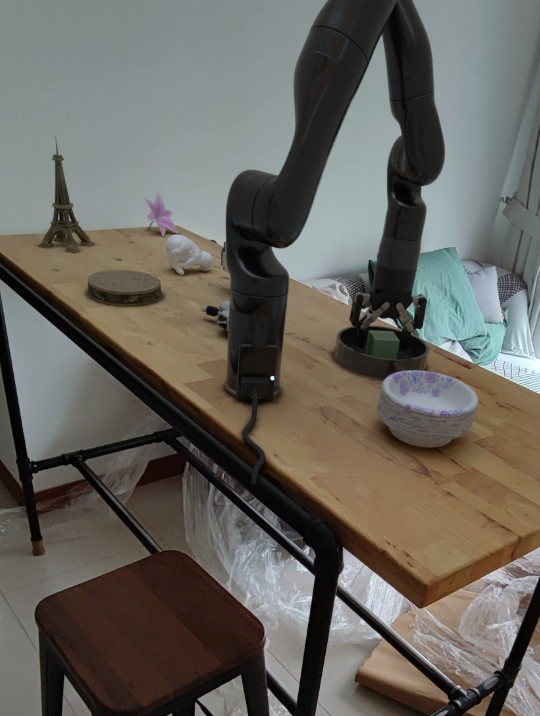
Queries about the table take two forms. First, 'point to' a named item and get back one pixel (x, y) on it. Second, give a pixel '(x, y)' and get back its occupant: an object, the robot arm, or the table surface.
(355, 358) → the pan
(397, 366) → the pan handle
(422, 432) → the paper bowls
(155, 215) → the lily
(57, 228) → the eiffel tower
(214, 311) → the robot toy
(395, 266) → the robot arm
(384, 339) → the cube
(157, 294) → the wood log slice
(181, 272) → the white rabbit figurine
